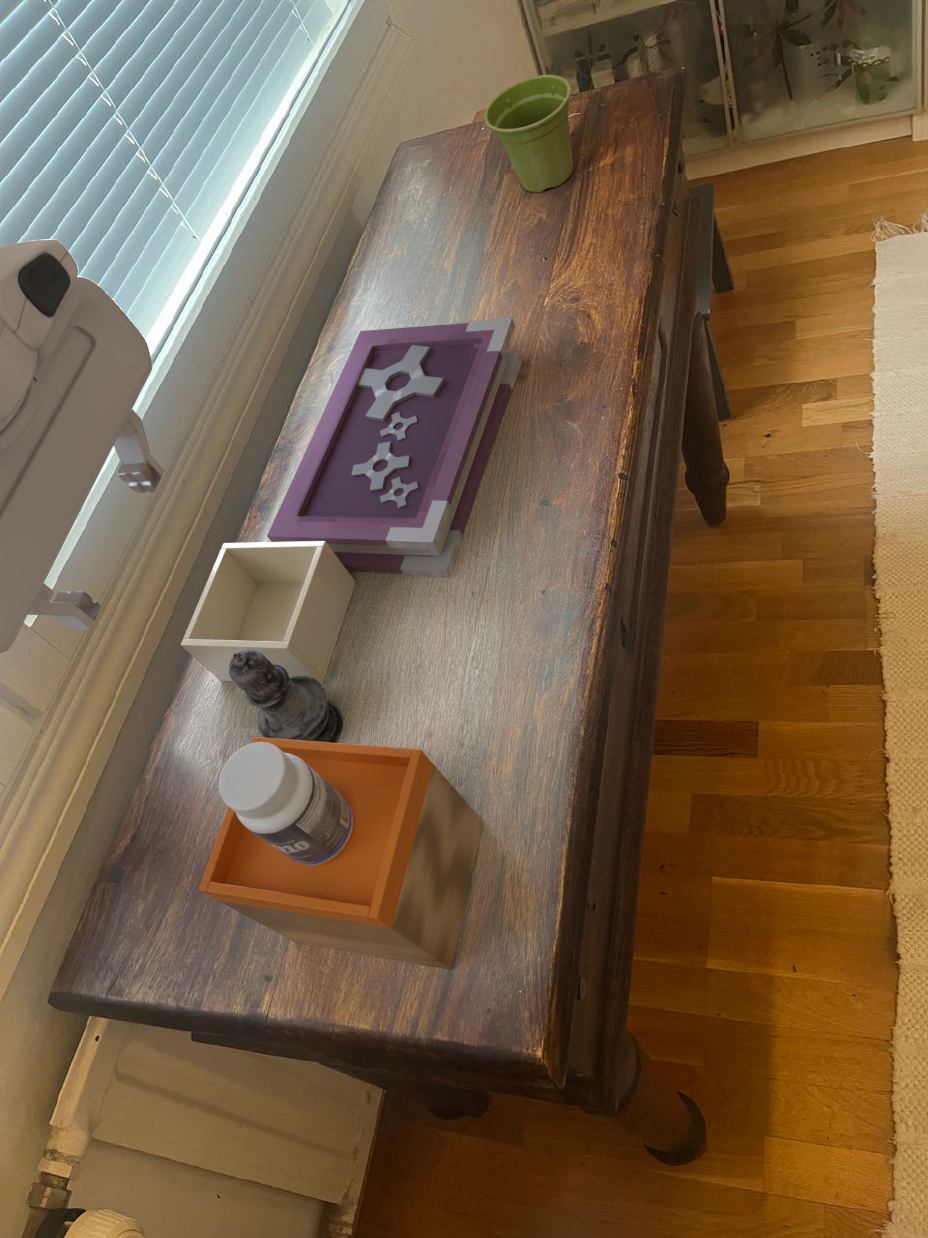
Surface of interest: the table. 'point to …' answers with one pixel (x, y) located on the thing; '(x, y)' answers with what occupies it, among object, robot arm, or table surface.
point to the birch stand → (406, 892)
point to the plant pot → (535, 130)
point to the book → (403, 447)
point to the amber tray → (370, 862)
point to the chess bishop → (285, 700)
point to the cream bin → (271, 607)
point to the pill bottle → (286, 803)
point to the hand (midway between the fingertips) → (120, 548)
